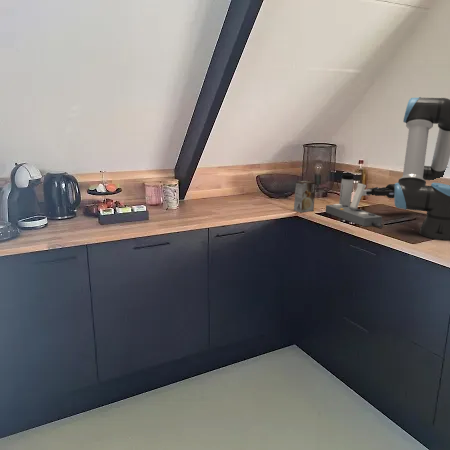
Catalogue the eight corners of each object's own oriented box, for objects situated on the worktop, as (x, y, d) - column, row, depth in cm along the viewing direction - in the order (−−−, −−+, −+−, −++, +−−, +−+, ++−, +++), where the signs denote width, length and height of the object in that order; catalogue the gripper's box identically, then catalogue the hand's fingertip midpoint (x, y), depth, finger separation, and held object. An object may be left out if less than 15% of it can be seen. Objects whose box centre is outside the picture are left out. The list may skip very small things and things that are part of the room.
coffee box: (305, 208, 237) (308, 180, 233) (313, 211, 232) (316, 182, 228) (293, 210, 232) (295, 181, 228) (301, 212, 227) (303, 183, 223)
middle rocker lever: (356, 211, 216) (366, 185, 215) (353, 210, 215) (363, 184, 214) (351, 209, 220) (360, 184, 218) (348, 208, 219) (358, 183, 217)
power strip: (390, 227, 203) (391, 217, 201) (372, 229, 198) (373, 218, 197) (341, 211, 234) (342, 201, 233) (325, 212, 230) (326, 203, 229)
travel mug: (349, 206, 246) (353, 172, 240) (350, 209, 240) (354, 174, 234) (338, 205, 247) (342, 171, 242) (338, 208, 241) (342, 173, 236)
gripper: (403, 200, 222) (368, 202, 213) (385, 195, 234) (351, 197, 224) (405, 186, 220) (370, 187, 211) (387, 182, 232) (352, 183, 222)
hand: (360, 192), depth 218 cm, fingers closed
